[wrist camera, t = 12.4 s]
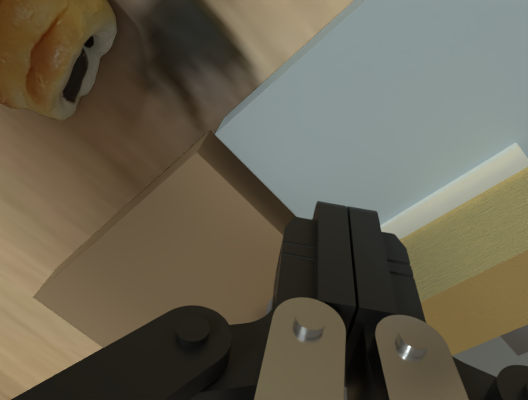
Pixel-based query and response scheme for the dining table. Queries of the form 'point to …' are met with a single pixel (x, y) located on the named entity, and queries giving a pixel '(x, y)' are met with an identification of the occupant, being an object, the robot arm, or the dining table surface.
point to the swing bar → (475, 266)
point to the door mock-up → (319, 165)
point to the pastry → (52, 52)
